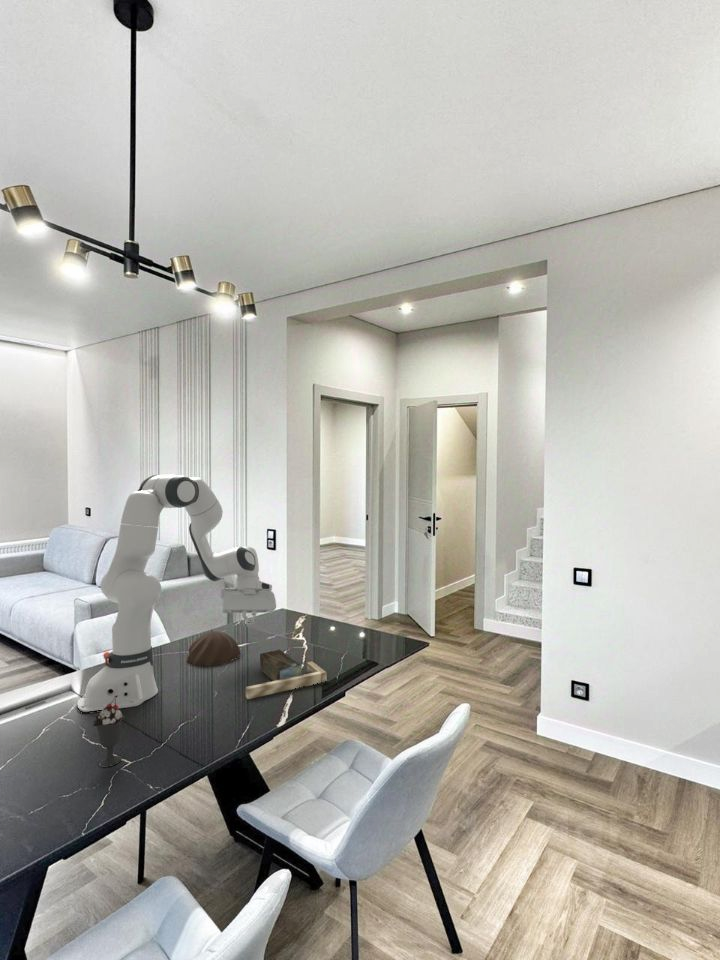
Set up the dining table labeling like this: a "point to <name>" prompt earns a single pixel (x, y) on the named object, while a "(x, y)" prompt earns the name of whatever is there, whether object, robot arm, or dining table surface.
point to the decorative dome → (213, 649)
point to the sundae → (109, 731)
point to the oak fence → (288, 682)
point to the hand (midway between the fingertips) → (249, 623)
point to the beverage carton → (279, 665)
